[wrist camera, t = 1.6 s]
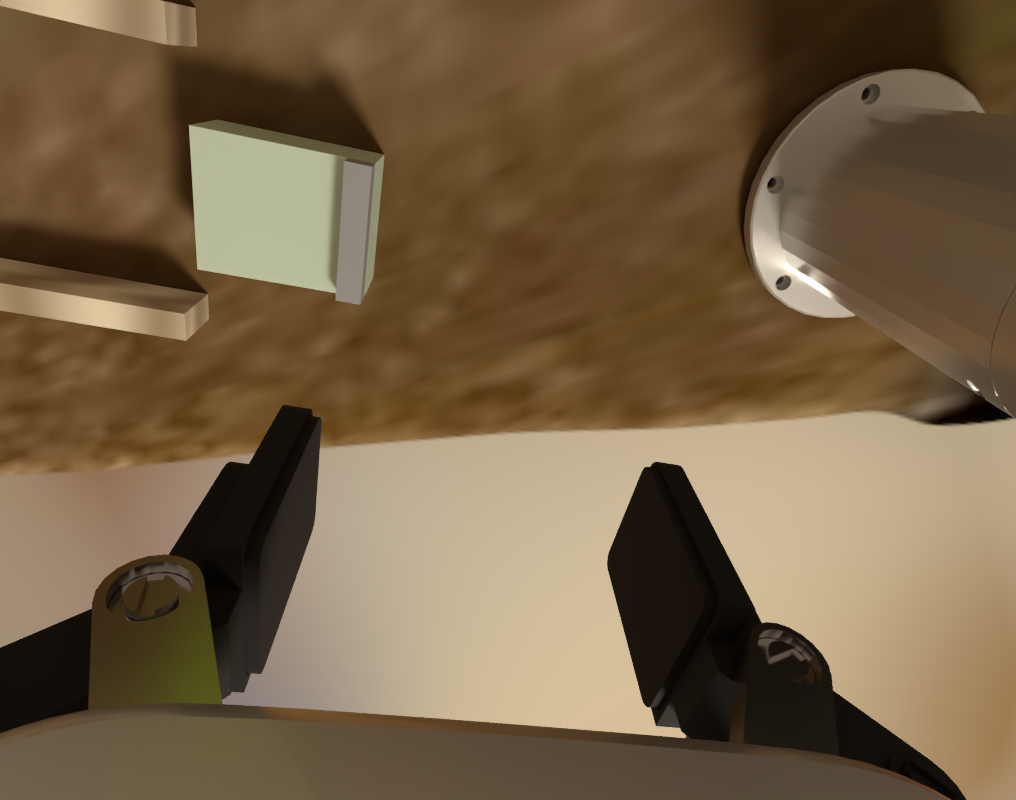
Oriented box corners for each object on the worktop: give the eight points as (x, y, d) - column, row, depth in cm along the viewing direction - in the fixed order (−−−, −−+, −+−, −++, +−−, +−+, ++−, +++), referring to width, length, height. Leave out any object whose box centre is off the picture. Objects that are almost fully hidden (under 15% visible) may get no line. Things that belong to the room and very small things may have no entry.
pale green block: (385, 153, 29) (371, 166, 25) (373, 276, 32) (360, 304, 28) (219, 119, 28) (178, 126, 24) (224, 249, 31) (188, 275, 27)
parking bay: (195, 8, 25) (164, 1, 23) (209, 318, 33) (186, 340, 30) (-197, -88, 23) (-281, -108, 21) (-90, 268, 30) (-142, 287, 28)
